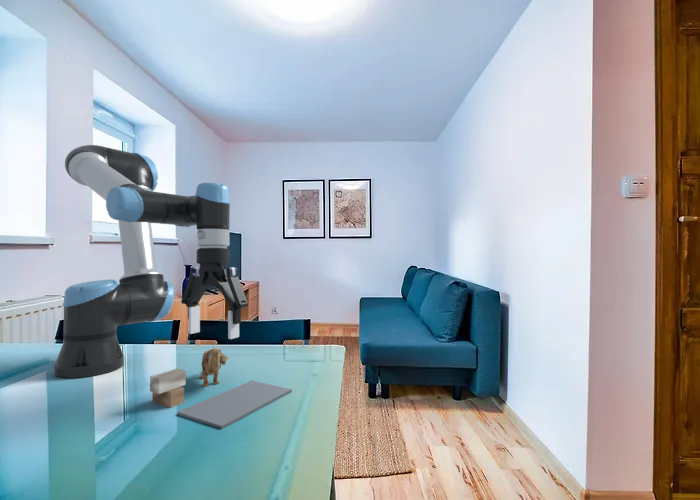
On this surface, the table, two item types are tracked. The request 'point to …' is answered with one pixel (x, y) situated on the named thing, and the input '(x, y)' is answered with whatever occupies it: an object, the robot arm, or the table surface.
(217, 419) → the gray mat
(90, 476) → the table surface
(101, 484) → the table surface
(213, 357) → the lion figurine
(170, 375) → the brick stack
